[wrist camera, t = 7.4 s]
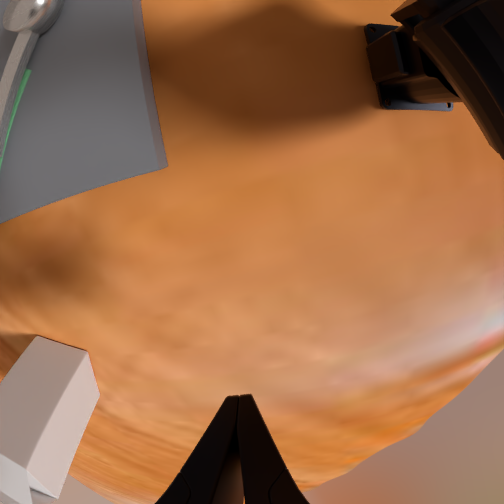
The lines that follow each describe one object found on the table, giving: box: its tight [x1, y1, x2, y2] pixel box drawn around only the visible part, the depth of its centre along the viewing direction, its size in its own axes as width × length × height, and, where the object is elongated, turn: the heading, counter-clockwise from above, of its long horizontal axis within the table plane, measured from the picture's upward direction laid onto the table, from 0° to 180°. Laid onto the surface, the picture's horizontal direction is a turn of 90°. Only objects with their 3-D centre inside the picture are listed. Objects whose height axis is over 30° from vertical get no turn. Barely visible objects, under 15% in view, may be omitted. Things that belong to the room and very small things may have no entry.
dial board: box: [0, 0, 168, 224], centre depth 14 cm, size 20×22×2 cm
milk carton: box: [0, 336, 100, 504], centre depth 17 cm, size 7×7×19 cm
